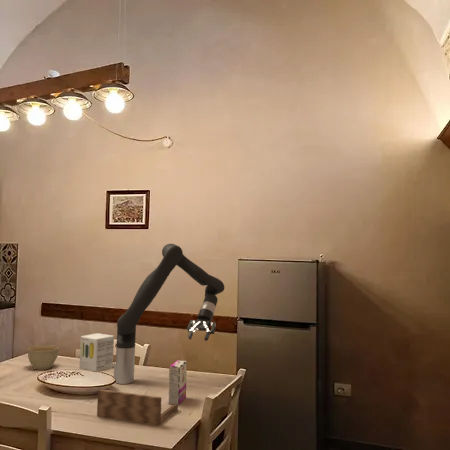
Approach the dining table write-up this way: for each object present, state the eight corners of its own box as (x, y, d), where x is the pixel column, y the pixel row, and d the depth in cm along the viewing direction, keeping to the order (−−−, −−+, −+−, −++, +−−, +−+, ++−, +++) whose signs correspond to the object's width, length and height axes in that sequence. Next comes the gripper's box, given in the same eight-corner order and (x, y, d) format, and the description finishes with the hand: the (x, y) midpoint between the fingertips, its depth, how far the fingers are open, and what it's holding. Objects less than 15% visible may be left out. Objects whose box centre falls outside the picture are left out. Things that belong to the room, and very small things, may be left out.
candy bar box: (175, 396, 212) (176, 359, 213) (186, 397, 211) (187, 360, 212) (167, 404, 201) (169, 365, 202) (178, 405, 200) (180, 366, 201)
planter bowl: (51, 372, 247) (52, 351, 248) (21, 371, 247) (22, 350, 248) (62, 364, 263) (63, 345, 264) (34, 363, 263) (35, 344, 264)
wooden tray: (96, 415, 185) (98, 390, 186) (120, 402, 202) (121, 378, 203) (158, 425, 177) (159, 398, 178) (177, 410, 194) (178, 385, 195)
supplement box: (78, 368, 257) (79, 336, 258) (96, 363, 268) (97, 332, 269) (95, 372, 250) (96, 339, 251) (113, 367, 261) (114, 335, 262)
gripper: (191, 307, 240) (182, 333, 229) (217, 308, 235) (209, 336, 224) (195, 316, 245) (186, 342, 234) (221, 318, 240) (212, 345, 229)
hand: (197, 339), depth 229 cm, fingers open, 8 cm apart
